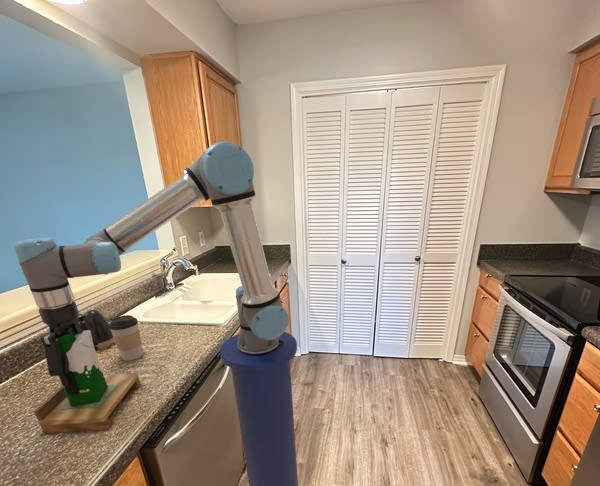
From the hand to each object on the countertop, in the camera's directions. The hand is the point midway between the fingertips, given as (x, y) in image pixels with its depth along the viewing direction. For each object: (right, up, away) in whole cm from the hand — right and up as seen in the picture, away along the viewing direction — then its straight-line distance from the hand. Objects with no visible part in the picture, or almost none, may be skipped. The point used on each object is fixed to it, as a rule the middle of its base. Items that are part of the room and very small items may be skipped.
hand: (85, 382), depth 87 cm
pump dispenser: (-19, +6, +39) cm, 44 cm away
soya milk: (0, -4, +2) cm, 5 cm away
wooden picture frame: (0, -8, +4) cm, 9 cm away
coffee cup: (-3, +4, +31) cm, 31 cm away
